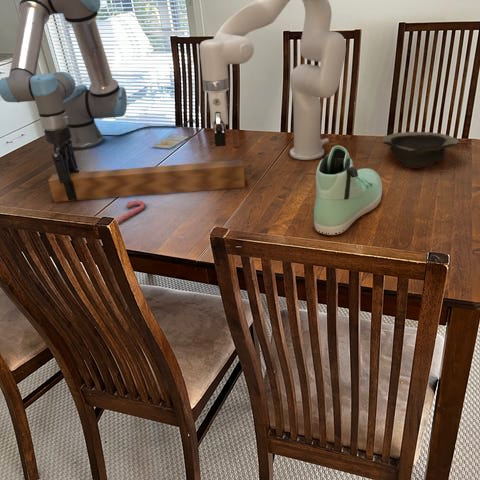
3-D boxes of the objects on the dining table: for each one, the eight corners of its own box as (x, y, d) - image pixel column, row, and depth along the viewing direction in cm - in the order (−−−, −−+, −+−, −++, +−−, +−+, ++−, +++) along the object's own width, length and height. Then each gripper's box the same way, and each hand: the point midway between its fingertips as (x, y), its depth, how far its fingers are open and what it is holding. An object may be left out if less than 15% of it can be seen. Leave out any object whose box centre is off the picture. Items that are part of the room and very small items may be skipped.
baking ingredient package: (151, 145, 194) (171, 134, 205) (151, 146, 194) (172, 135, 206) (169, 147, 190) (189, 136, 202) (170, 149, 191) (189, 137, 202)
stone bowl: (418, 179, 151) (419, 150, 147) (365, 160, 172) (365, 135, 167) (473, 159, 160) (476, 132, 156) (417, 144, 180) (418, 120, 176)
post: (54, 202, 157) (48, 180, 153) (58, 195, 161) (52, 174, 157) (245, 187, 156) (243, 165, 152) (244, 181, 160) (242, 159, 156)
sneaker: (389, 187, 148) (396, 123, 138) (356, 242, 123) (361, 168, 112) (346, 181, 154) (350, 119, 144) (306, 232, 129) (307, 161, 118)
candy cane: (99, 223, 142) (98, 218, 141) (136, 202, 152) (135, 198, 151) (113, 227, 139) (112, 223, 138) (149, 206, 149) (149, 202, 148)
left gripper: (60, 136, 139) (79, 207, 151) (76, 117, 154) (92, 183, 166) (34, 138, 139) (55, 209, 151) (52, 119, 154) (71, 185, 166)
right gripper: (229, 91, 134) (233, 149, 143) (228, 77, 149) (232, 131, 158) (202, 93, 134) (208, 151, 143) (204, 79, 149) (209, 132, 158)
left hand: (75, 195), depth 158 cm, fingers closed on post, 5 cm apart
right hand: (220, 140), depth 150 cm, fingers open, 9 cm apart
